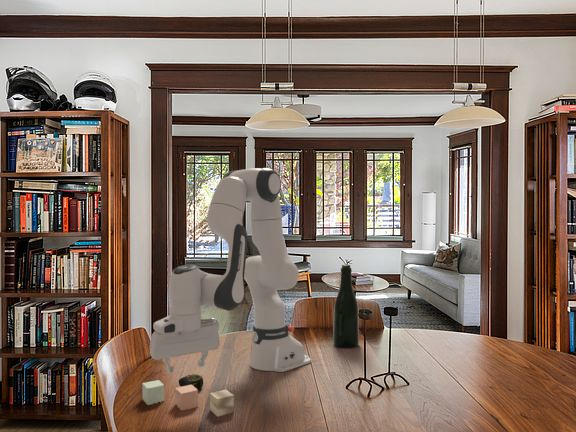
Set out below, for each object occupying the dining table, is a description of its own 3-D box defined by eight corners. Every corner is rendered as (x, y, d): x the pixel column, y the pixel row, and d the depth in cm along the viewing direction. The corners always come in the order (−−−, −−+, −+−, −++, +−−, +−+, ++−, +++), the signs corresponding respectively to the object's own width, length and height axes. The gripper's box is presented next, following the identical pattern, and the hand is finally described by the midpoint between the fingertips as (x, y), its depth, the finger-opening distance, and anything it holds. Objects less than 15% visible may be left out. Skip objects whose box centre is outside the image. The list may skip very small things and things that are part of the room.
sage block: (158, 396, 152) (158, 379, 152) (164, 401, 148) (164, 385, 147) (142, 399, 149) (142, 383, 149) (147, 405, 145) (147, 388, 145)
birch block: (226, 406, 144) (225, 389, 144) (233, 412, 140) (233, 395, 140) (210, 410, 141) (210, 393, 141) (217, 416, 137) (217, 399, 137)
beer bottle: (341, 339, 210) (341, 262, 208) (363, 344, 203) (363, 264, 202) (328, 346, 201) (328, 265, 200) (351, 350, 195) (351, 267, 194)
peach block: (191, 401, 148) (191, 384, 148) (198, 407, 144) (197, 390, 143) (175, 404, 145) (175, 388, 145) (181, 411, 141) (181, 393, 141)
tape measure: (177, 388, 158) (177, 376, 158) (197, 383, 162) (197, 372, 162) (186, 395, 152) (186, 383, 152) (206, 390, 156) (206, 378, 156)
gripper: (214, 315, 152) (214, 359, 152) (147, 324, 141) (148, 372, 141) (223, 319, 146) (223, 365, 147) (154, 329, 135) (155, 379, 136)
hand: (185, 369), depth 144 cm, fingers open, 8 cm apart
